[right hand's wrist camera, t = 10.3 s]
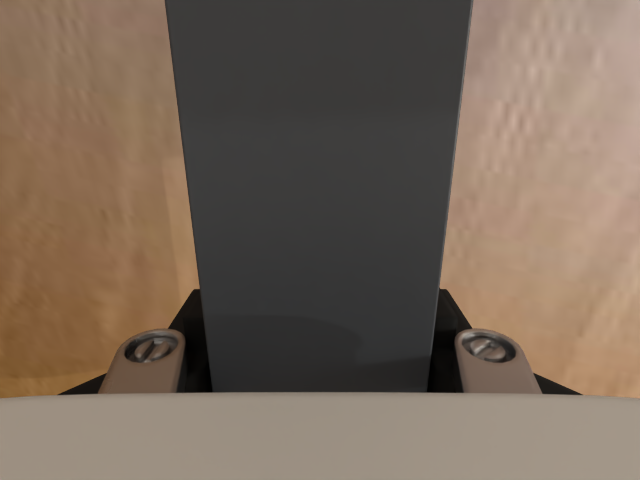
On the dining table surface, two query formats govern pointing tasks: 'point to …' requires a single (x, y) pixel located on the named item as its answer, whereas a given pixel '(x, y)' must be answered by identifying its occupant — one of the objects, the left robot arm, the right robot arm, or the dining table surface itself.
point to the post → (319, 184)
